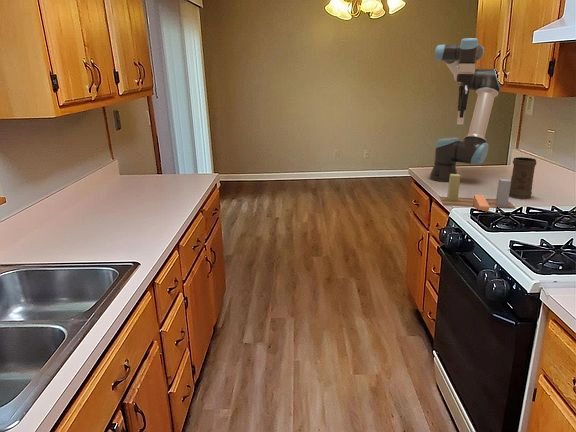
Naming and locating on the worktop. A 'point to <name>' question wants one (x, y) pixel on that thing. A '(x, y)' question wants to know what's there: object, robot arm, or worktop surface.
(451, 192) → the olive pillar
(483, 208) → the terracotta pillar
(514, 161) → the beer stein
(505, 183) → the slate pillar
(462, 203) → the walnut board
